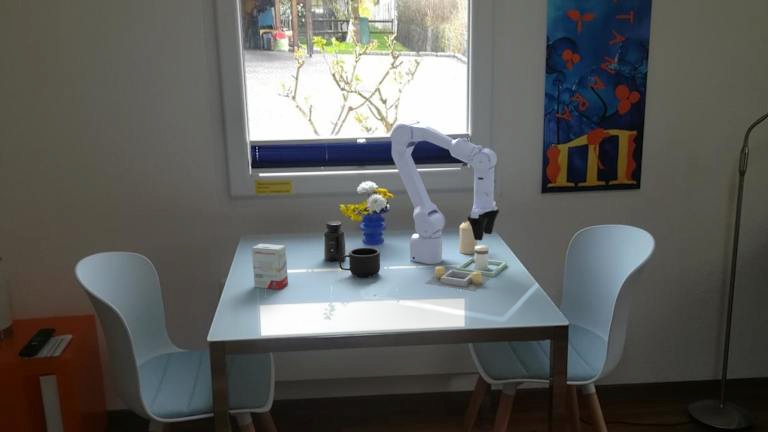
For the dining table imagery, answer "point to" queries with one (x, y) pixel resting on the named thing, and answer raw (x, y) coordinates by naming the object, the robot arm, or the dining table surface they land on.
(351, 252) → the mug
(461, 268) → the parts tray
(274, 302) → the dining table surface
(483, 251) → the cylinder
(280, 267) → the ink box
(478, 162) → the robot arm
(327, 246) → the supplement bottle
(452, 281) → the fuse panel
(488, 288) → the dining table surface
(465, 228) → the candle
